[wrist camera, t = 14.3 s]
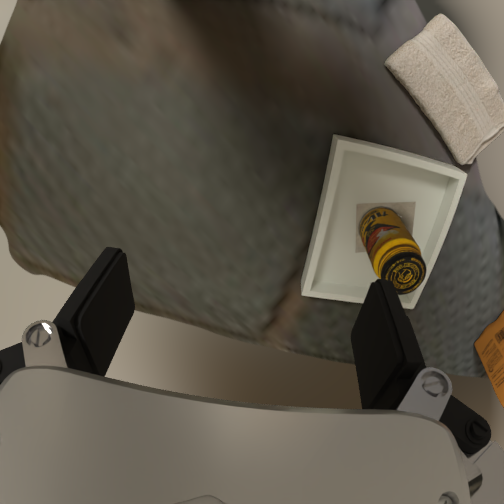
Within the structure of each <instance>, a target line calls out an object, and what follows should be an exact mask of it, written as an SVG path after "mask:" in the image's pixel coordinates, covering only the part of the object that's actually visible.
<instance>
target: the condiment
mask: <svg viewBox="0 0 504 504" xmlns="http://www.w3.org/2000/svg"><path fill="white" fill-rule="evenodd" d="M415 205H416V202H396V203H394V202H393V203H364V204H357V205H356V249H355V253H359V252H367V254H368V258H369V259H370V262H371V265H372V268H373V270H374V272H375V274H376V275H377V277H378V278H380V279H386V280H392V282H393V284H394V286H395V289H396V291H397V294H398V295H404V294H408V293H411V292H413V291H415V290H416V289H417V288H418V287H419V286H420V285H421V283H422V282H423V281H424V279H425V276H426V264H425V262H424V260H423V258H422V255H421V251H420V248H419V246H418V244H417V243H416V241H415V240H414V238H413V237H412V234H413V225H414V222H413V221H414V216H415ZM400 216H401V217H400Z"/></svg>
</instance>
